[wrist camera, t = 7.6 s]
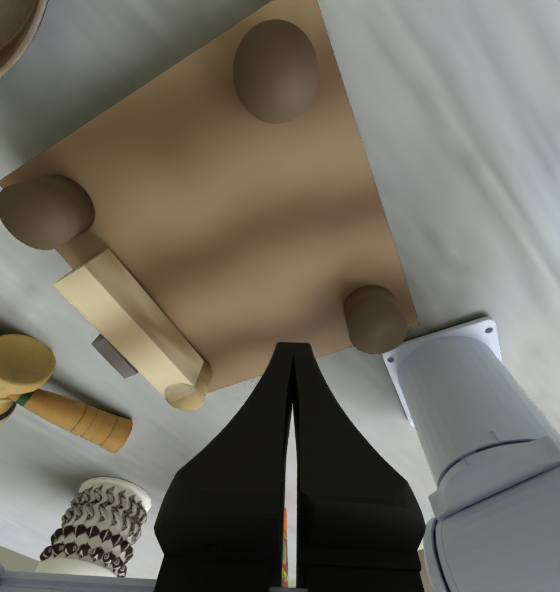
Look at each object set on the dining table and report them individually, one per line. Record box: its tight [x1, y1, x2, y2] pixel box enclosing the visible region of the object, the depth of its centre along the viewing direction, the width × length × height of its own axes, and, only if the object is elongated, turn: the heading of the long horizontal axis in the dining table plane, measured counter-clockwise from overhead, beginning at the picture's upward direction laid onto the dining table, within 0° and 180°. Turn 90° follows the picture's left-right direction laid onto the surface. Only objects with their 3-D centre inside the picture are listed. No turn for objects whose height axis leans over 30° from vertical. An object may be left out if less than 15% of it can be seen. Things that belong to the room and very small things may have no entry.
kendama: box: [0, 334, 133, 453], centre depth 26 cm, size 8×6×18 cm
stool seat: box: [0, 0, 420, 393], centre depth 18 cm, size 18×18×5 cm
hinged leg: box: [53, 248, 212, 411], centre depth 20 cm, size 11×3×2 cm, turn 28°
